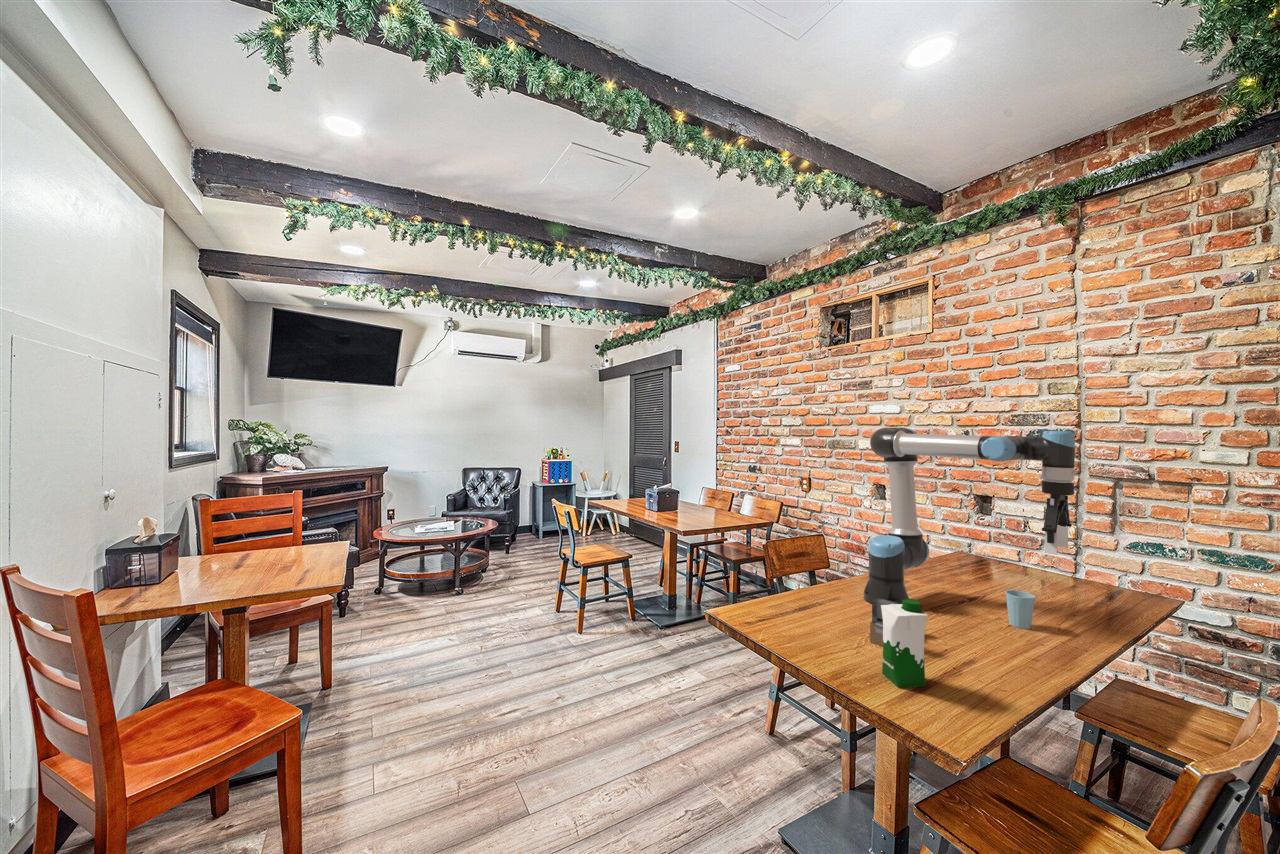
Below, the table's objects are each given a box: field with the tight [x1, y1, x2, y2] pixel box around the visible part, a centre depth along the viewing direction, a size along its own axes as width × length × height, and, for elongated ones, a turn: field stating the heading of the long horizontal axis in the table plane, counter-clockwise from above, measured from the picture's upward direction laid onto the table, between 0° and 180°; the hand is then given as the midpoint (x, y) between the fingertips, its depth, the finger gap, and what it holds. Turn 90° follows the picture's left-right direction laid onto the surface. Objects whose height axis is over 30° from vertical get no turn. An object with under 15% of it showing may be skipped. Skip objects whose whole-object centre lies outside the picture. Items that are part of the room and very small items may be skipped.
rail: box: [869, 620, 883, 648], centre depth 147 cm, size 18×10×7 cm, turn 127°
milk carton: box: [881, 598, 929, 689], centre depth 122 cm, size 9×9×20 cm
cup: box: [1005, 589, 1036, 630], centre depth 157 cm, size 8×8×10 cm
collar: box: [871, 598, 898, 622], centre depth 144 cm, size 4×7×11 cm, turn 37°
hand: (1056, 550), depth 147 cm, fingers open, 13 cm apart
